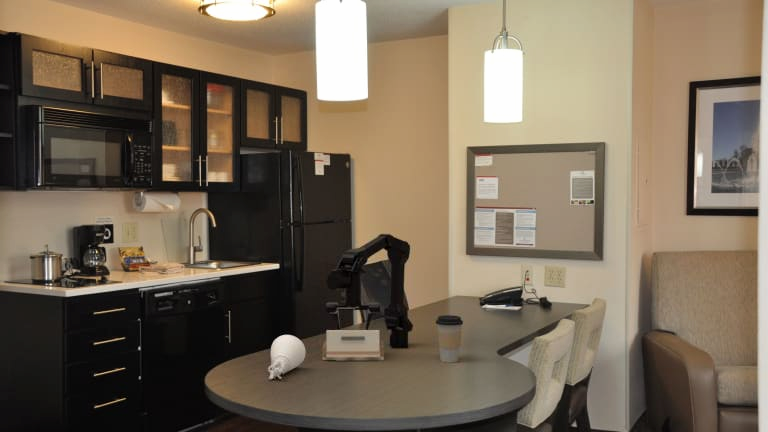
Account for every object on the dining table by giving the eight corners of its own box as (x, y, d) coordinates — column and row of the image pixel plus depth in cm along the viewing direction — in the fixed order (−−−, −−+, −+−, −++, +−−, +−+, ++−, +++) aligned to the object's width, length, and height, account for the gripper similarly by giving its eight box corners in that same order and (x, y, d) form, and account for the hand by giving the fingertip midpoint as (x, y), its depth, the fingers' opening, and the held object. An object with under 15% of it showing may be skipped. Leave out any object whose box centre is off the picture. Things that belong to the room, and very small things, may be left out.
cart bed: (382, 352, 260) (382, 340, 260) (383, 360, 248) (383, 348, 248) (324, 352, 260) (324, 341, 260) (322, 360, 248) (322, 348, 247)
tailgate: (379, 356, 248) (379, 330, 247) (379, 357, 246) (379, 331, 246) (326, 356, 247) (326, 330, 247) (326, 357, 245) (326, 331, 245)
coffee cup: (465, 358, 251) (465, 315, 250) (459, 364, 242) (459, 320, 241) (439, 356, 254) (439, 314, 253) (432, 362, 245) (432, 318, 244)
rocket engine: (275, 351, 218) (288, 328, 235) (248, 373, 220) (263, 348, 238) (301, 379, 219) (312, 353, 236) (274, 400, 222) (287, 373, 239)
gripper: (379, 284, 258) (379, 328, 258) (327, 284, 258) (327, 328, 258) (380, 288, 247) (380, 334, 247) (325, 288, 246) (325, 334, 247)
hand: (352, 332), depth 250 cm, fingers open, 9 cm apart
